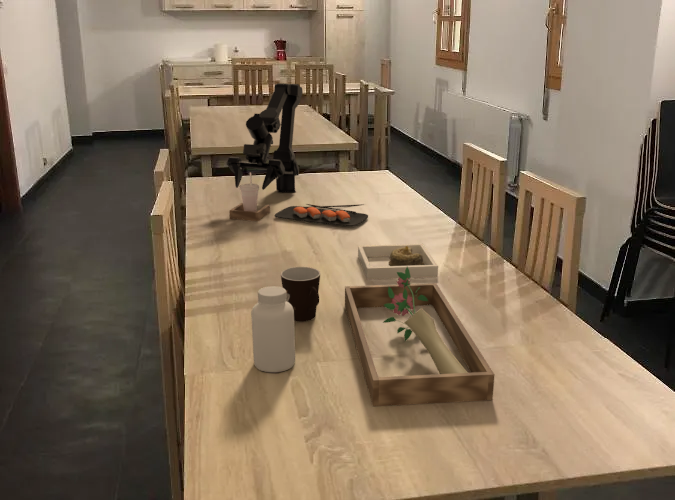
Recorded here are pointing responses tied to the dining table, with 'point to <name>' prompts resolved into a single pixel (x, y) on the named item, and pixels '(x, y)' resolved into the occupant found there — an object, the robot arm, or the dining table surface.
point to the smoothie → (249, 195)
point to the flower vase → (422, 327)
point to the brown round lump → (405, 257)
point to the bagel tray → (391, 271)
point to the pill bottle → (273, 331)
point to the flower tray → (419, 386)
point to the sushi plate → (323, 215)
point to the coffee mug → (302, 291)
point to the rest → (248, 213)
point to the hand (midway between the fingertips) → (249, 188)
